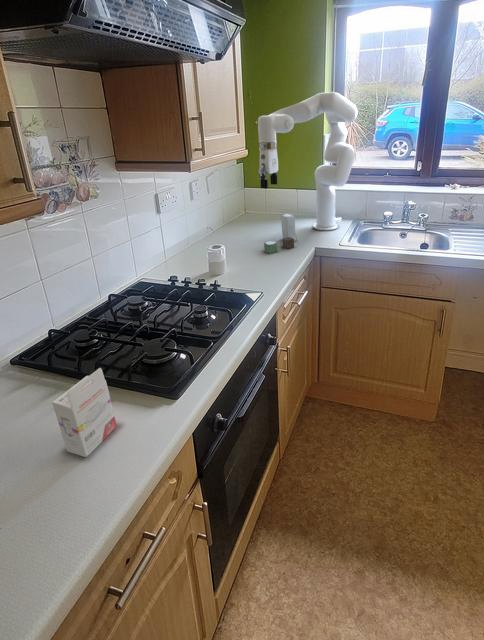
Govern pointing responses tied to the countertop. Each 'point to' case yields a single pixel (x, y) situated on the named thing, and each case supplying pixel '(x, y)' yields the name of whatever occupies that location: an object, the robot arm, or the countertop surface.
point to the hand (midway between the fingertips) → (269, 186)
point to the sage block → (270, 247)
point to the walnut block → (288, 242)
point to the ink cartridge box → (85, 414)
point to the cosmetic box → (288, 226)
